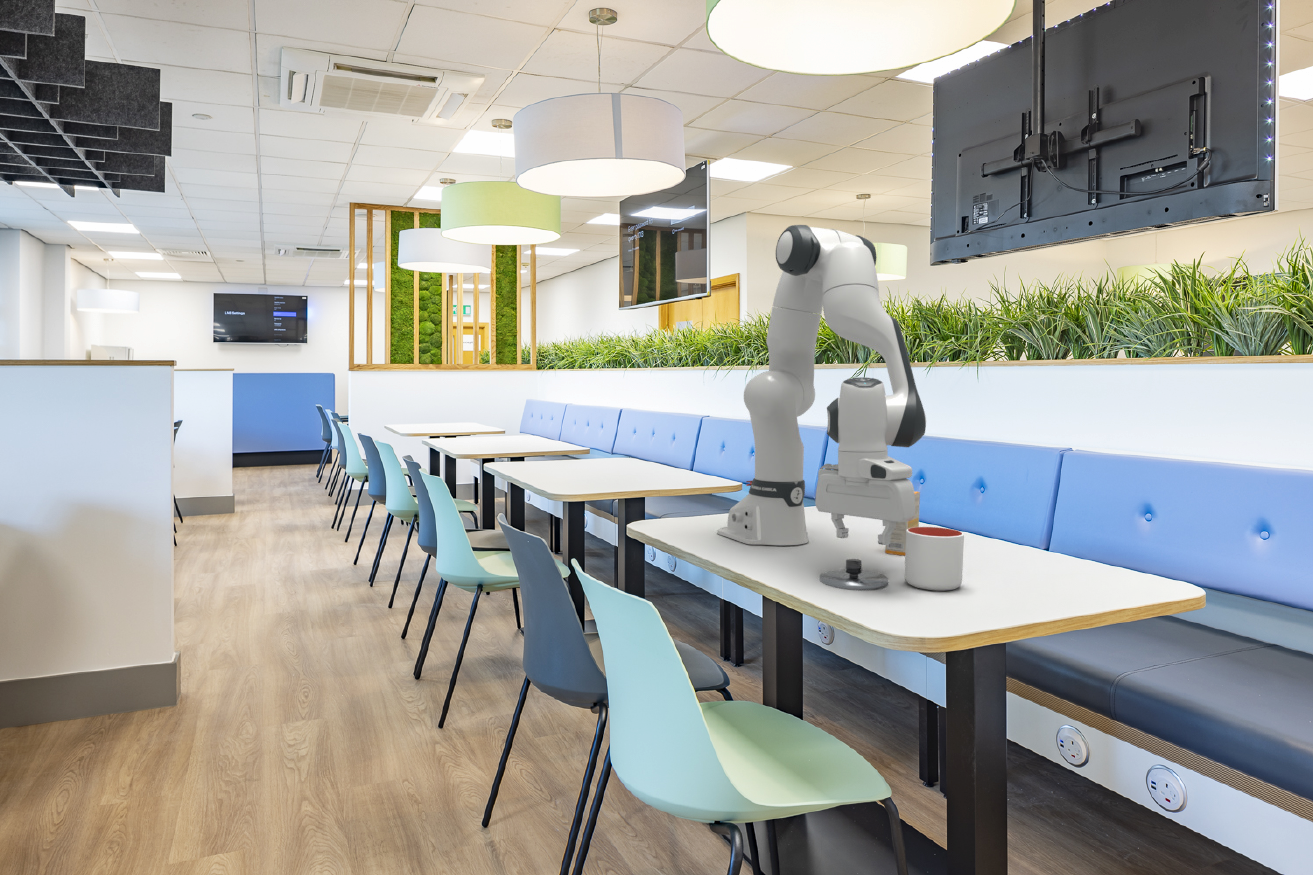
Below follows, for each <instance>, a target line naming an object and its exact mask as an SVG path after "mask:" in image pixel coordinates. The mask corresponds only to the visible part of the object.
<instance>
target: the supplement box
mask: <svg viewBox="0 0 1313 875" xmlns="http://www.w3.org/2000/svg"><path fill="white" fill-rule="evenodd" d="M914 494H915V515H914V517H913V518H912V520H910V521H907V522H896V527H895V529H894V530H893V532H892V534H891V535H890V544H889V545H885V554H888V555H896V556H902V557H903V556H904V557H905V551H906V530H907V529H909V528H913V527H920V526H919V525H920V500H921V499H920V498H921V492H920V491H915V490H914Z"/></svg>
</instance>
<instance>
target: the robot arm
mask: <svg viewBox="0 0 1313 875" xmlns="http://www.w3.org/2000/svg"><path fill="white" fill-rule="evenodd" d="M775 259H776V260H775V261H776V264H777V267H778V268H779V269H780V270H781V271H782V272H781V275H780V278H779V281H778V284H777V287H776V290H775V294H774V298H773V303H772V308H771V313H770V318H769V324H768V329H767V335H766V340H765V341H766V345H767V350H768V370H767V371H763V372H761V373H759V374H756V375H755V376H754V377H752V378H751V379H750V380H749V381H748V382H747V383H746V385H745V387H744V391H743V402H744V405H745V407H746V409H747V410H748V413H749V418H750V422H751V428H752V433H753V440H754V478H752V480H746V485H745V486H746V487H749V489H748V494H747V495H746V496H745V497H744V498H742V499H740V501H738V502H737V503H736V504H735V505H733V506H732V507H730V510H728V516H727V522H726V523H727V524H726V525H727V526H724V527H720V528H718V529H717V532H716V534H717V535H720V536H724V537H726V538H729V539H732V540H734V541H737V542H741V543H743V544H745V545H755V546H756V545H762V546H763V545H767V546H797V545H798V546H799V545H802V544H806V543H808V542H809V541H810V539H809V536H808V532H807V531H808V530H807V526H806V525H807V524H806V514H805V504H804V497H805V495H806V491H805V490H806V483H805V479H804V455H805V452H804V451H805V450H804V448H805V446H804V443H803V441H802V438H801V434H800V429H799V423H798V417H801V416H802V415H804V414H805V413H807V412H808V410H810V408H811V407H812V406H813V404H814V402H815V400H816V389H815V386H814V383H815V382H814V378H815V350H816V346H817V345H816V344H817V339H818V333H819V328H820V324H821V323H820V322H821V318H822V312H823V315H824V320H825V323H826V325H827V327H829V329H830V330H831V331H832V332H833V333H835V334H836V335H837V336H839V337H840V338H842V339H844V340H846V341H849V342H853V343H856V344H860V345H862V346H864V347H866V348H869V349H871V350H874V351H875V352H876V353H878V354H879V355H880V356H881V357H882V358H883V360H884V362H885V364H886V368H887V370H886V371H887V373H888V378H889V381H890V385H891V390H892V393H893V394H891V395H886V389H885V384H884V382H883V381H881V380H880V379H878V378H874V377H872V378H871V377H865V376H864V377H851V378H847V379H845V380H843V381H842V382H841V385H840V390H839V397H837V398H835V399H834V400H833V401H831V403H830V404H828V406H827V407H826V411H827V412H826V413H827V427H826V428H827V430H826V434H827V435H828V437H830V439H832V441H834V442H835V443H836V444H838V449H837V450H838V451H837V453H838V454H837V463H836V464H831V463H825V464H823V465H821V467H820V468H819V469H818V473H817V474H818V475H817V482H816V491H815V500H814V502H815V504H814V505H815V507H816V509H817V511H818V512H821V513H829V514H831V518H830V519H831V521H832V523H833V525H834V527H835V529H836V530H835V532H836V538H840V539H847V538H848V537H850V536H849V528H848V527H846V525H845V524H844V521H843V519H845V516H849V517H857V518H858V517H859V518H864V519H873V520H879V521H882V526H883V527H884V529H883V531H882V533H881V534H877V539H878V540H877V544H878V545H882V546H886V545H889V544H890V535H891V534H892V532H893V530H894V529H895V527H896V522H907V521H910V520H912V518H913V517H914V515H915V494H914V491H915V487H914V484H913V482H912V481H911V480H909V478H912V477H913V467H911V466H910V465H908V464H906V463H904V462H902V461H899V460H898V459H896V458H893V457H891V456H889V454H888V452H889V451H888V446H891V447H899V448H910V447H913V445H915V444H916V443H917V442H919V440H921V439H922V437H924V435H925V433H926V427H927V416H926V412H925V410H924V406H923V403H922V400H921V397H920V395H919V392H918V388H917V384H916V380H915V377H914V373H913V369H912V366H911V362H910V358H909V354H908V350H907V346H906V343H905V338H904V336H903V332H902V328H901V326H900V323H899V322H898V320H897V318H894V317H893V316H891V315H889V314H888V313H887V311H886V310H885V308H884V307H883V305H882V303H881V300H880V294H879V293H880V290H879V282H878V275H877V274H878V273H877V270H876V265H877V251H876V247H875V245H874V243H873V242H872V241H871V240H869V239H867V238H865V237H863V236H861V235H857V234H856V235H853V234H851V233H848V232H845V231H842V230H837V229H834V228H826V227H825V228H823V227H816V226H808V225H807V224H794V225H790V226H788V227H786V228H785V229H784V230H783V231H782V232H781V234H780V236H779V237H778V240H777V243H776V246H775ZM747 483H748V484H747Z"/></svg>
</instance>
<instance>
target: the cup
mask: <svg viewBox="0 0 1313 875" xmlns="http://www.w3.org/2000/svg"><path fill="white" fill-rule="evenodd" d="M964 542H965V533H964V532H962V531H959V530H957V529H951V528H946V527H936V526H919V527H913V528H909V529H907V530H906V551H905V556H904V579H905V581H906V582H907V584H909V585H910V586H912V587H914V588H917V589H921V590H926V591H927V590H928V591H935V592H936V591H937V592H938V591H939V592H941V591H944V592H946V591H952V590H956V589H958V588H959V587H960V586H961V585H962V583H963V567H964V565H963V564H964V544H965V543H964Z"/></svg>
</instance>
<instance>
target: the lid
mask: <svg viewBox="0 0 1313 875" xmlns="http://www.w3.org/2000/svg"><path fill="white" fill-rule="evenodd" d="M862 566H863V565H862V560H861V559H858V558H846V561H845V569H835V570H829V571H825V572H822V573H820V575H819V581H820V583H821V584H823V585H825V586H829V587H831V588H835V589H841V590H849V591H877V590H882V589H885V588H887V587H888V586H889V577H887V576H886V575H885V574H883V573H879V572H875V571H871V570H863V568H862Z"/></svg>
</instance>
